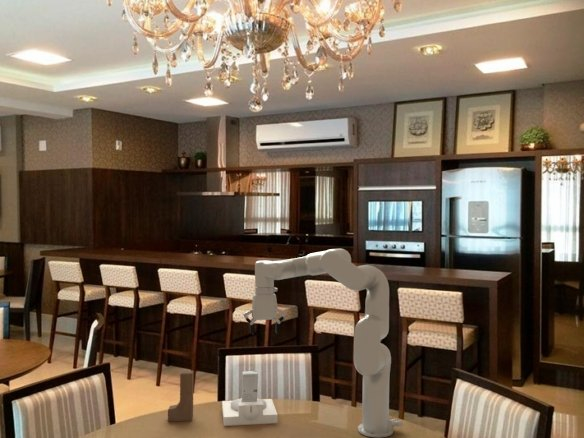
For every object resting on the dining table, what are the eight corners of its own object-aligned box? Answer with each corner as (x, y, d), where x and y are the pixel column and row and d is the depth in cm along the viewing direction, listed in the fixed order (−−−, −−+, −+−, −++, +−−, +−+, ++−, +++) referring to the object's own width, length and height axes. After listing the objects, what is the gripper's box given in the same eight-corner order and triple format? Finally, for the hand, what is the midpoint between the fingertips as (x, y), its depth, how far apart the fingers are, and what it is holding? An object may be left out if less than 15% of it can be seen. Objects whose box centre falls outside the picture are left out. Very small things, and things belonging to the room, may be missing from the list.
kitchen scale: (271, 406, 221) (271, 388, 221) (277, 423, 203) (277, 403, 203) (222, 409, 218) (222, 390, 218) (223, 426, 199) (223, 405, 199)
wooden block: (167, 421, 204) (168, 373, 204) (169, 417, 208) (170, 370, 208) (191, 421, 204) (192, 373, 204) (193, 417, 209) (193, 370, 209)
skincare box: (241, 405, 210) (242, 374, 210) (241, 401, 214) (241, 371, 214) (257, 404, 211) (258, 373, 211) (256, 401, 215) (256, 370, 215)
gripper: (284, 289, 224) (284, 331, 223) (242, 290, 221) (242, 333, 220) (287, 291, 216) (287, 334, 216) (243, 293, 213) (244, 336, 213)
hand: (265, 333), depth 218 cm, fingers open, 9 cm apart
